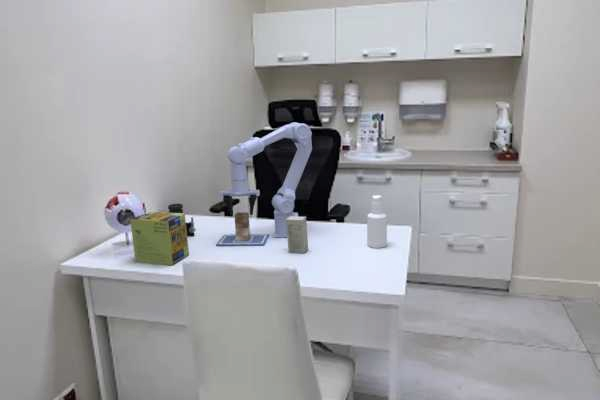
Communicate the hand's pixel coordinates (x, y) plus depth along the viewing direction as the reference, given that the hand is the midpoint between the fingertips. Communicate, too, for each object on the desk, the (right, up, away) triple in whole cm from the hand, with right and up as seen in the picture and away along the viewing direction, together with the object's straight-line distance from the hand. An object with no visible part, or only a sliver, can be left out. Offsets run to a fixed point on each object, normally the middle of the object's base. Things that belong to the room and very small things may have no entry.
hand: (241, 214), depth 175 cm
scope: (-25, -10, +9) cm, 28 cm away
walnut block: (0, -5, +1) cm, 5 cm away
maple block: (0, -9, +2) cm, 10 cm away
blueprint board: (0, -10, +2) cm, 10 cm away
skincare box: (+21, -13, -11) cm, 27 cm away
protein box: (-26, -15, -13) cm, 33 cm away
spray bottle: (+50, -11, -9) cm, 52 cm away
